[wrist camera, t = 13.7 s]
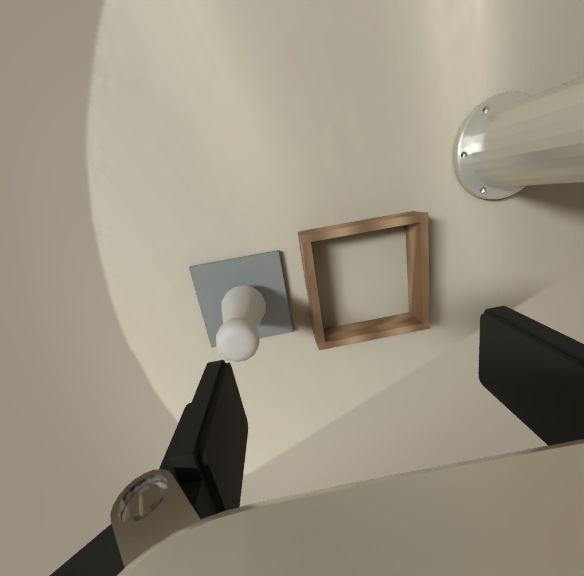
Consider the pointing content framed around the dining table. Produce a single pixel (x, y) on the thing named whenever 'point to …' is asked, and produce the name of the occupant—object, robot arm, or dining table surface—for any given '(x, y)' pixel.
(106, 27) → the dining table surface
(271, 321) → the mat
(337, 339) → the bin
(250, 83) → the dining table surface
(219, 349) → the salt shaker
